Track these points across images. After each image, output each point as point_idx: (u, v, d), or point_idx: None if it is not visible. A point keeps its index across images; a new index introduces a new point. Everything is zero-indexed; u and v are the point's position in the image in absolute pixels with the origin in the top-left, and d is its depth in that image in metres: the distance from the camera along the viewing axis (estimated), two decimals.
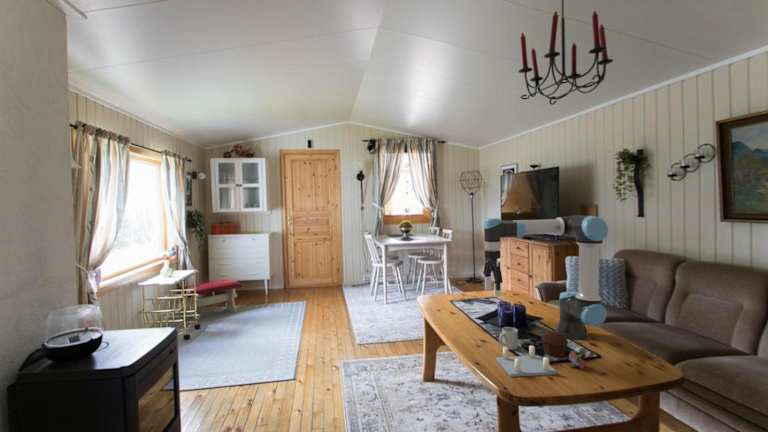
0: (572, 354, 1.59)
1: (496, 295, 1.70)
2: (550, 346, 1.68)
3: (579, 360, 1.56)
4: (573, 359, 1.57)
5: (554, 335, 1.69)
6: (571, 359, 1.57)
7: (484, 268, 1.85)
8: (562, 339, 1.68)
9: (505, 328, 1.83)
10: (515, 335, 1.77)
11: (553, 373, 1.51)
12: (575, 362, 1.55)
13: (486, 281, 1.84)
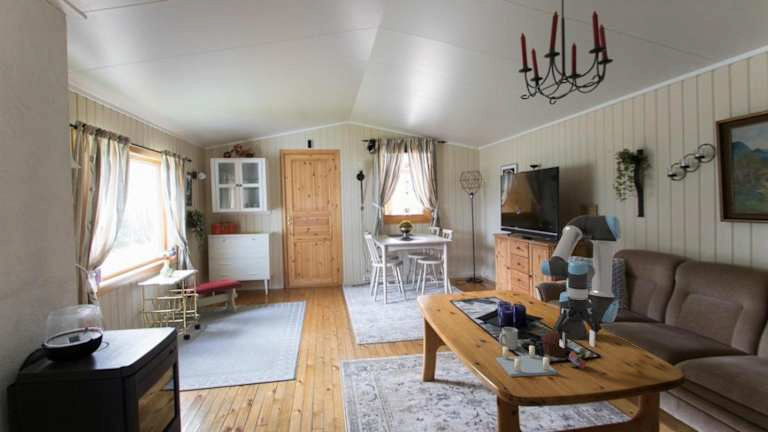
0: (572, 354, 1.59)
1: (560, 344, 1.57)
2: (550, 346, 1.68)
3: (579, 360, 1.56)
4: (573, 359, 1.57)
5: (554, 335, 1.69)
6: (571, 359, 1.57)
7: None
8: None
9: (505, 328, 1.83)
10: (515, 335, 1.77)
11: (553, 373, 1.51)
12: (575, 362, 1.55)
13: (590, 335, 1.58)
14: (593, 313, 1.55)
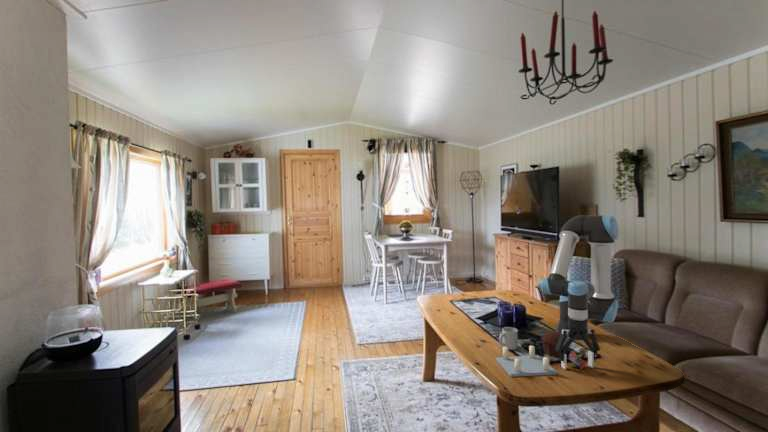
0: (572, 354, 1.59)
1: (562, 365, 1.57)
2: (550, 346, 1.68)
3: (579, 360, 1.56)
4: (573, 359, 1.57)
5: (554, 335, 1.69)
6: (571, 359, 1.57)
7: None
8: None
9: (505, 328, 1.83)
10: (515, 335, 1.77)
11: (553, 373, 1.51)
12: (575, 362, 1.55)
13: (588, 356, 1.58)
14: (592, 333, 1.56)
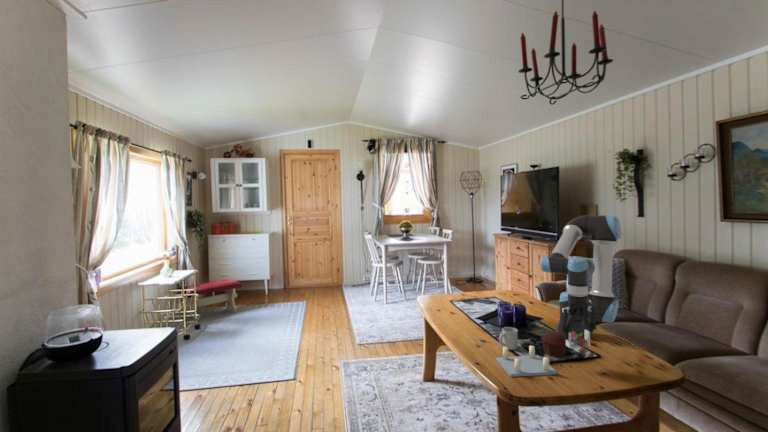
0: (572, 333, 1.59)
1: (566, 344, 1.57)
2: (550, 346, 1.68)
3: (579, 339, 1.56)
4: (573, 338, 1.57)
5: (554, 335, 1.69)
6: (571, 338, 1.57)
7: None
8: (562, 339, 1.68)
9: (505, 328, 1.83)
10: (515, 335, 1.77)
11: (553, 373, 1.51)
12: (576, 341, 1.55)
13: (585, 335, 1.58)
14: (592, 311, 1.55)
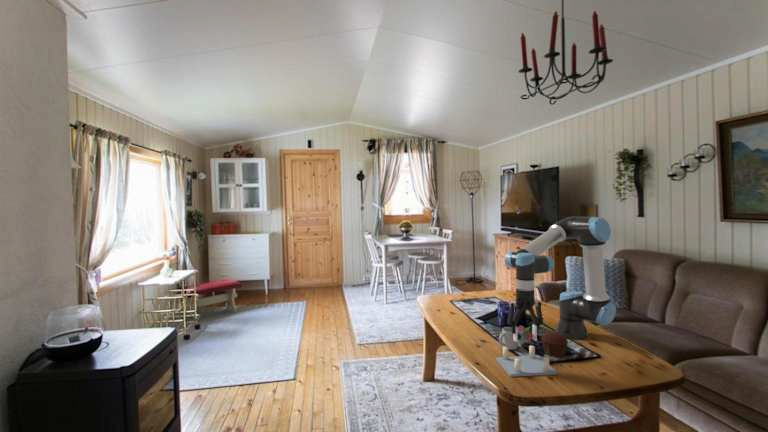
0: (520, 328, 1.60)
1: (514, 338, 1.58)
2: (550, 346, 1.68)
3: (526, 333, 1.57)
4: (521, 332, 1.58)
5: (554, 335, 1.69)
6: (519, 332, 1.58)
7: None
8: (562, 339, 1.68)
9: (505, 328, 1.83)
10: None
11: (553, 373, 1.51)
12: (522, 335, 1.56)
13: (532, 329, 1.59)
14: (539, 306, 1.57)
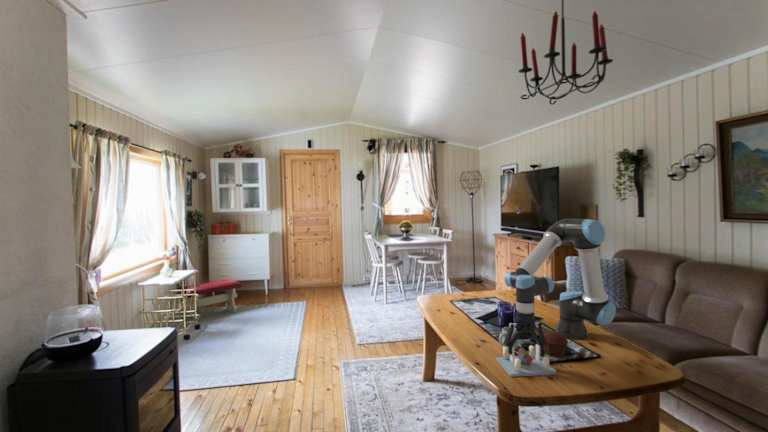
0: (520, 351, 1.60)
1: (510, 359, 1.59)
2: (550, 346, 1.68)
3: (527, 357, 1.58)
4: (521, 356, 1.58)
5: (554, 335, 1.69)
6: (519, 356, 1.58)
7: None
8: (562, 339, 1.68)
9: (505, 328, 1.83)
10: None
11: (553, 373, 1.51)
12: (522, 359, 1.57)
13: (536, 349, 1.60)
14: (540, 327, 1.57)
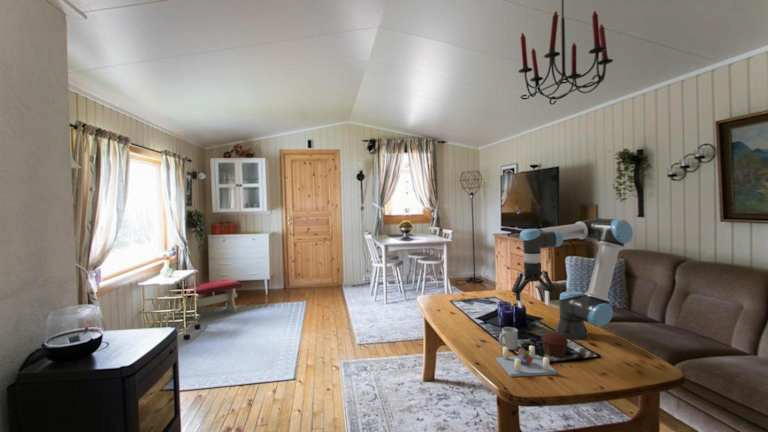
0: (520, 351, 1.60)
1: (518, 305, 1.72)
2: (550, 346, 1.68)
3: (527, 357, 1.58)
4: (521, 356, 1.58)
5: (554, 335, 1.69)
6: (519, 356, 1.58)
7: None
8: (562, 339, 1.68)
9: (505, 328, 1.83)
10: (515, 335, 1.77)
11: (553, 373, 1.51)
12: (522, 359, 1.57)
13: (545, 295, 1.73)
14: (546, 275, 1.70)
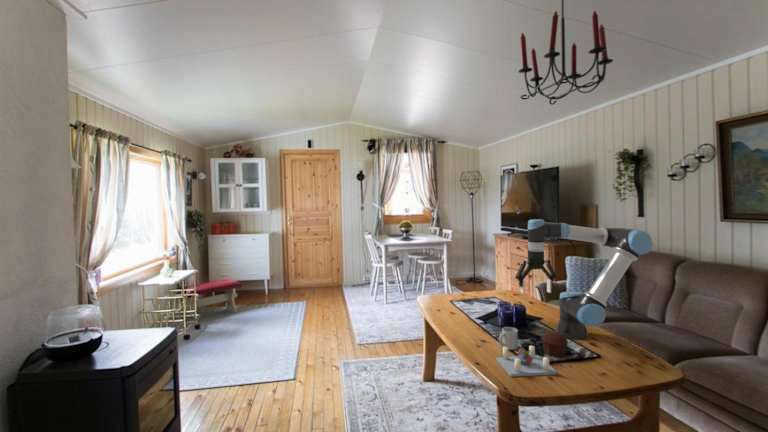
0: (520, 351, 1.60)
1: (521, 291, 1.81)
2: (550, 346, 1.68)
3: (527, 357, 1.58)
4: (521, 356, 1.58)
5: (554, 335, 1.69)
6: (519, 356, 1.58)
7: None
8: (562, 339, 1.68)
9: (505, 328, 1.83)
10: (515, 335, 1.77)
11: (553, 373, 1.51)
12: (522, 359, 1.57)
13: (547, 283, 1.82)
14: (549, 263, 1.79)
